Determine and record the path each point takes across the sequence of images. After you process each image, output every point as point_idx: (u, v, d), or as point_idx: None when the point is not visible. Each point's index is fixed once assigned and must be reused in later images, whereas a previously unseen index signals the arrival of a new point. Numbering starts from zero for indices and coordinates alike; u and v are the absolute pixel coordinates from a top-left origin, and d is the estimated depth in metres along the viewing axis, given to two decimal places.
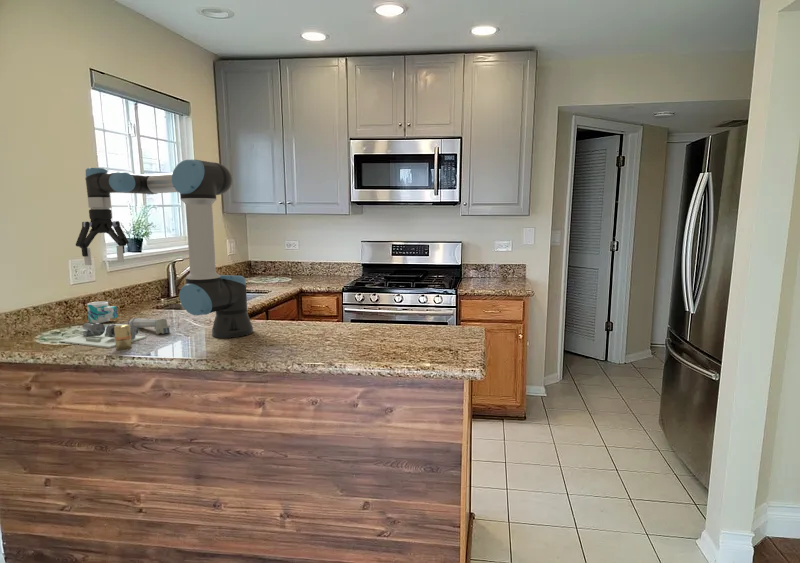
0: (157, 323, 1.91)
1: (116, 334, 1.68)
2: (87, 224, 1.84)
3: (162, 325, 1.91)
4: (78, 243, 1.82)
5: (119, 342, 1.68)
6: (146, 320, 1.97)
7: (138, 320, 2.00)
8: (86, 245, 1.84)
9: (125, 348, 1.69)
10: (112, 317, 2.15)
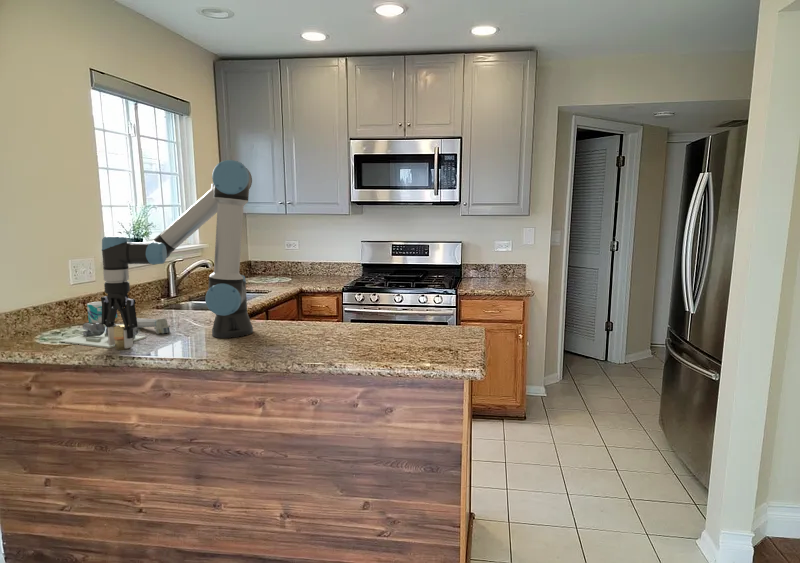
0: (157, 323, 1.92)
1: (115, 334, 1.68)
2: (101, 300, 1.70)
3: (163, 325, 1.92)
4: None
5: (118, 342, 1.68)
6: (146, 320, 1.97)
7: (138, 320, 2.00)
8: (106, 324, 1.71)
9: (124, 348, 1.69)
10: None
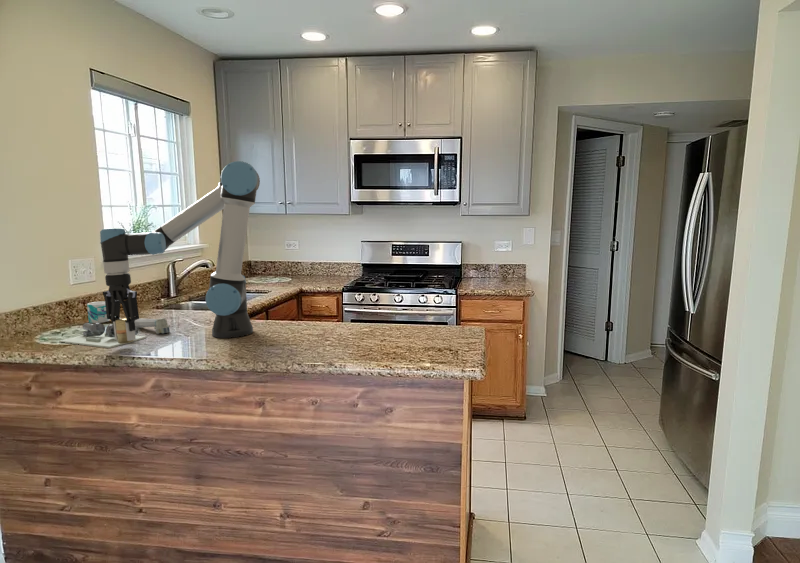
0: (157, 323, 1.92)
1: (117, 327, 1.68)
2: (104, 294, 1.70)
3: (163, 324, 1.92)
4: None
5: (121, 335, 1.68)
6: (146, 320, 1.97)
7: (138, 320, 2.00)
8: (111, 318, 1.70)
9: (127, 341, 1.69)
10: None
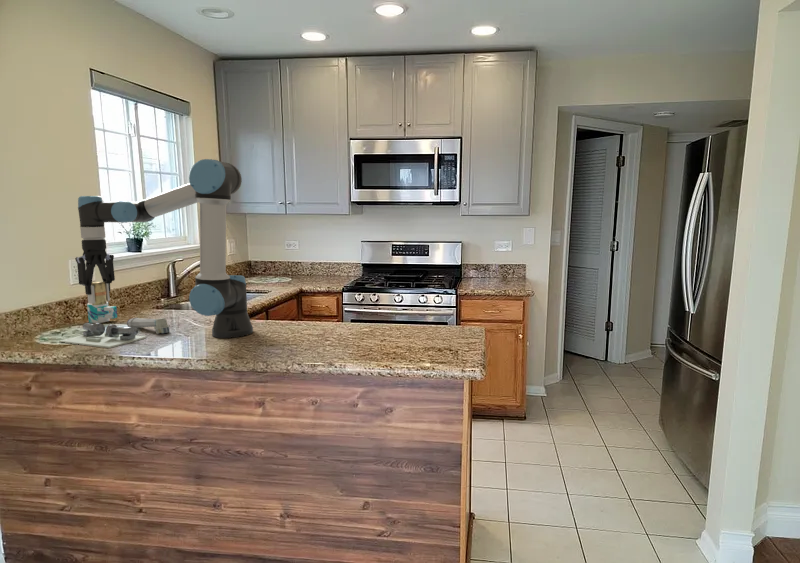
0: (157, 323, 1.92)
1: (102, 289, 1.79)
2: (81, 260, 1.73)
3: (162, 324, 1.92)
4: (82, 281, 1.74)
5: (105, 296, 1.81)
6: (146, 320, 1.97)
7: (137, 320, 2.00)
8: (89, 283, 1.76)
9: (106, 302, 1.83)
10: (112, 317, 2.15)
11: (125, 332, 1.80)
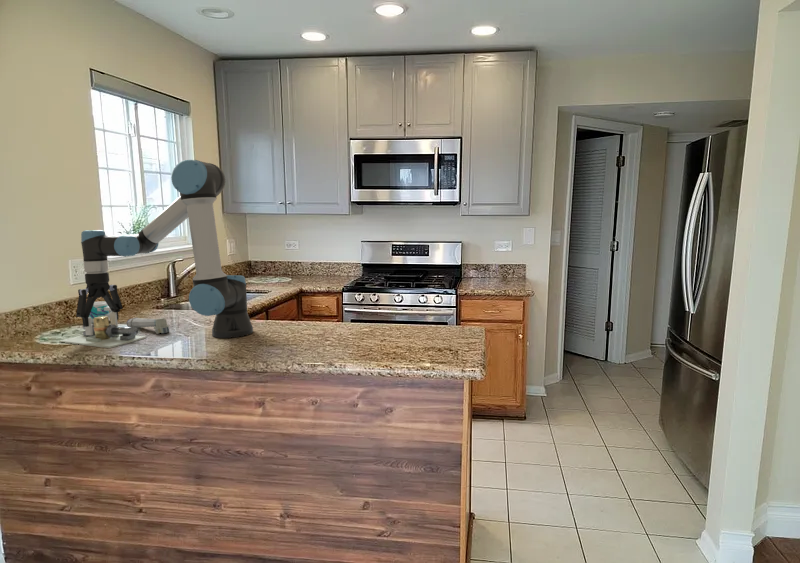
0: (157, 323, 1.92)
1: (105, 324, 1.81)
2: (84, 292, 1.74)
3: (162, 324, 1.92)
4: (79, 314, 1.74)
5: None
6: (145, 320, 1.98)
7: (137, 320, 2.00)
8: (87, 315, 1.76)
9: None
10: None
11: (125, 332, 1.80)
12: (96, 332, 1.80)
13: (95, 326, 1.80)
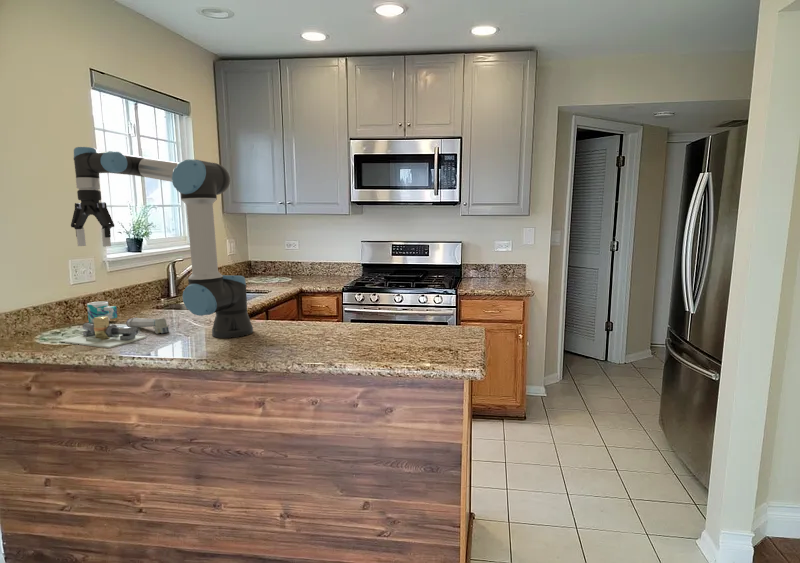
0: (156, 323, 1.92)
1: (105, 324, 1.81)
2: (75, 205, 1.86)
3: (162, 324, 1.92)
4: None
5: None
6: (145, 320, 1.98)
7: (137, 320, 2.01)
8: (75, 226, 1.88)
9: None
10: (112, 317, 2.15)
11: (125, 332, 1.80)
12: (96, 332, 1.80)
13: (95, 326, 1.80)
